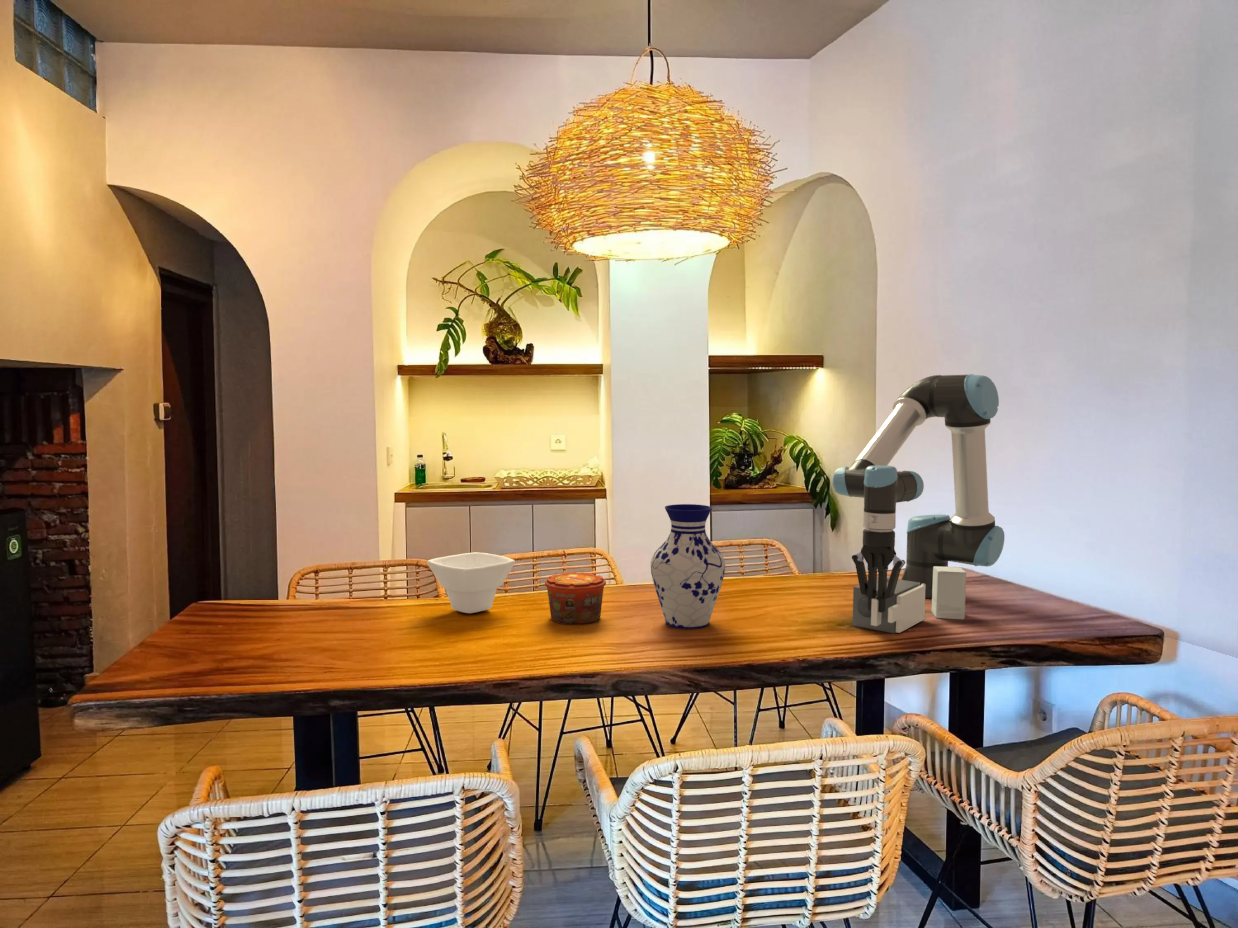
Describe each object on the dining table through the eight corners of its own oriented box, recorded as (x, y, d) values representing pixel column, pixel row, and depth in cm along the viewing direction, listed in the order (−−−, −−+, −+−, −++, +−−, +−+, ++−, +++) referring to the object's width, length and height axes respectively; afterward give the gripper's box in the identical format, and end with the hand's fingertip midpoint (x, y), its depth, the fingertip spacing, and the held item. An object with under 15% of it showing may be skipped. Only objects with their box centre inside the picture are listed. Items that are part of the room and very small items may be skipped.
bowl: (521, 610, 232) (521, 559, 231) (463, 624, 218) (462, 570, 216) (478, 599, 244) (478, 550, 243) (421, 611, 230) (420, 560, 229)
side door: (921, 619, 224) (922, 583, 223) (924, 619, 223) (926, 583, 222) (887, 637, 207) (888, 598, 206) (891, 638, 207) (892, 599, 206)
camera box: (878, 613, 231) (879, 573, 230) (918, 620, 224) (920, 579, 223) (851, 626, 218) (852, 584, 217) (893, 634, 211) (894, 590, 210)
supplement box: (965, 619, 224) (967, 572, 223) (935, 618, 226) (937, 570, 225) (959, 612, 232) (961, 566, 231) (931, 611, 233) (932, 565, 232)
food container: (534, 623, 220) (534, 581, 219) (560, 608, 235) (560, 569, 234) (592, 629, 214) (592, 587, 213) (614, 613, 229) (614, 574, 228)
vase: (731, 617, 226) (733, 504, 223) (715, 637, 208) (717, 514, 205) (661, 611, 232) (662, 501, 229) (640, 629, 214) (641, 510, 211)
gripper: (847, 528, 210) (844, 622, 212) (898, 534, 202) (895, 632, 204) (860, 524, 216) (857, 616, 218) (911, 530, 207) (908, 626, 209)
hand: (876, 624), depth 211 cm, fingers closed
